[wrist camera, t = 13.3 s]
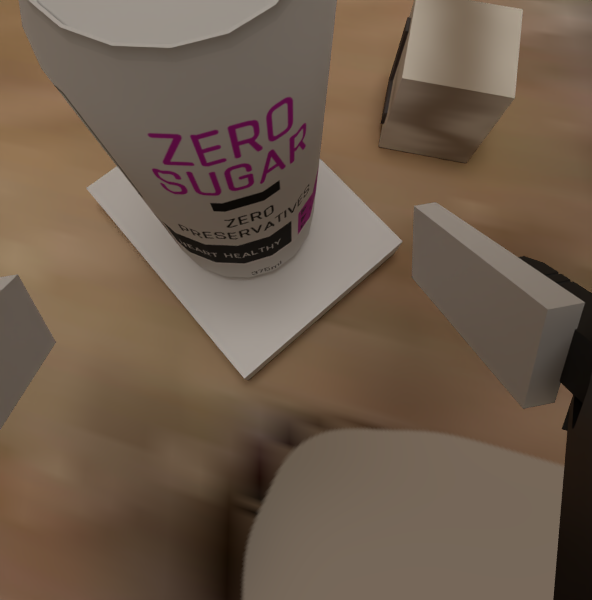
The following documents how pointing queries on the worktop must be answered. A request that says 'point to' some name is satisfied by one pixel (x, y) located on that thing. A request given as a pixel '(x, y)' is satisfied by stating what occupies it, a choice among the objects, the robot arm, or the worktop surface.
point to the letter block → (451, 77)
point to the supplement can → (201, 112)
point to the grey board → (268, 286)
